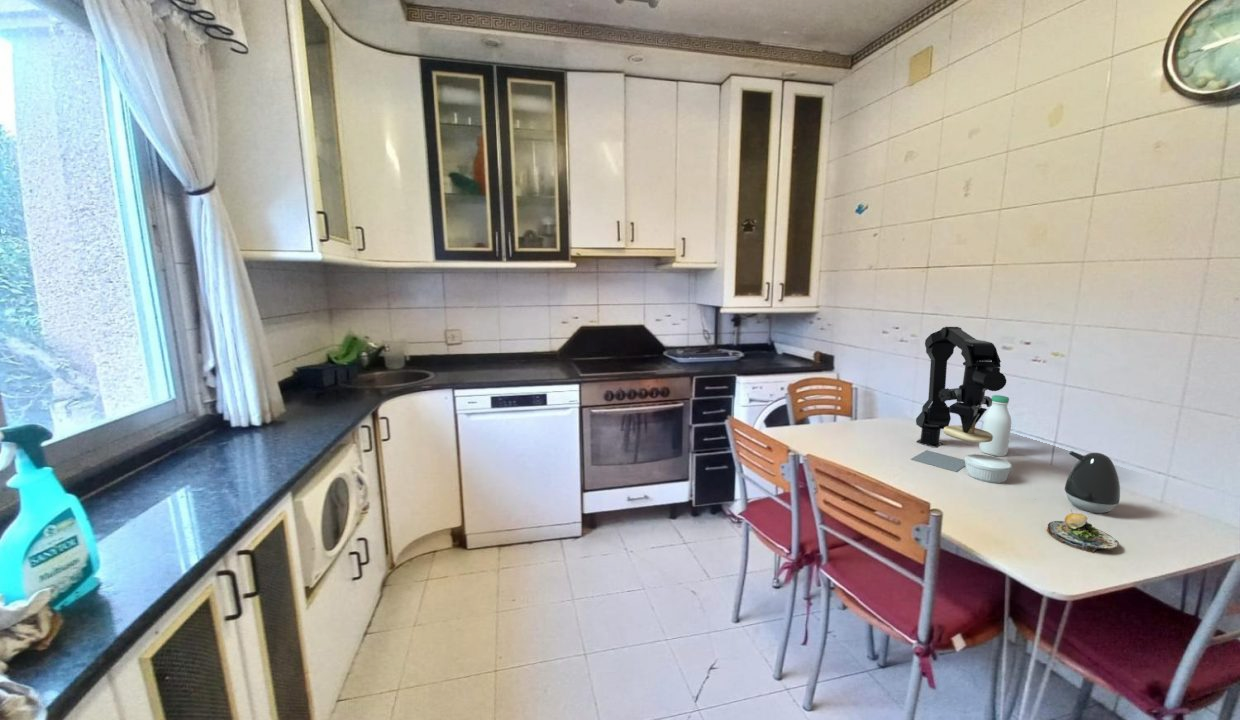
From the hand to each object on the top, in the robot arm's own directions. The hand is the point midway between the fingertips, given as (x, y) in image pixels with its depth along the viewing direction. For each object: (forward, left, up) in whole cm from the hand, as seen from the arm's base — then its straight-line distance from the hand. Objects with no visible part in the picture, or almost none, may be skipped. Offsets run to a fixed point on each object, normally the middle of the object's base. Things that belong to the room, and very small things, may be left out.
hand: (967, 431), depth 146 cm
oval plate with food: (+26, +31, -13) cm, 43 cm away
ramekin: (+2, +6, -13) cm, 14 cm away
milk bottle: (-25, +1, -13) cm, 28 cm away
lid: (0, 0, -1) cm, 1 cm away
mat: (-2, -7, -12) cm, 14 cm away
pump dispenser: (+4, +29, -13) cm, 32 cm away
